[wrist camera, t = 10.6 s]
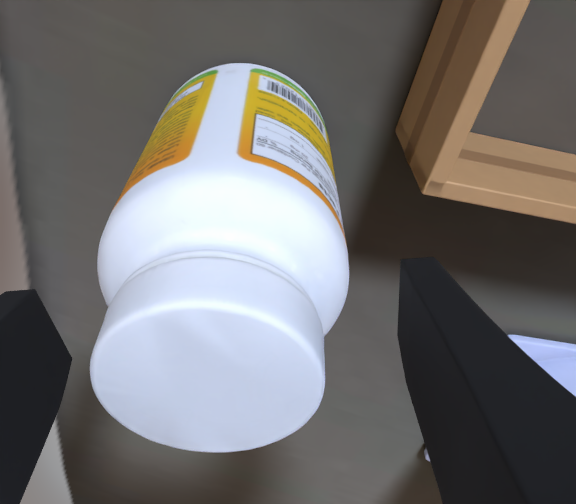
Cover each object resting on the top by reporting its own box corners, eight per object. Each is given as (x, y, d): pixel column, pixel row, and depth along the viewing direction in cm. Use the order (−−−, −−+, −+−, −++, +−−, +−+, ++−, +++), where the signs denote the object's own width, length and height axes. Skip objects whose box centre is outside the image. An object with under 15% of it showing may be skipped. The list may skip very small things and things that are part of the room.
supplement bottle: (175, 216, 18) (90, 477, 10) (146, 61, 15) (-13, 270, 7) (326, 212, 18) (357, 473, 10) (330, 56, 15) (382, 263, 7)
